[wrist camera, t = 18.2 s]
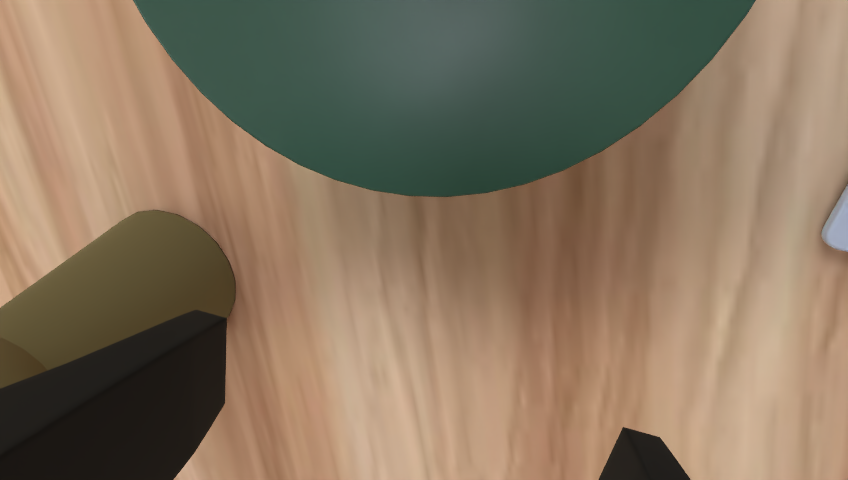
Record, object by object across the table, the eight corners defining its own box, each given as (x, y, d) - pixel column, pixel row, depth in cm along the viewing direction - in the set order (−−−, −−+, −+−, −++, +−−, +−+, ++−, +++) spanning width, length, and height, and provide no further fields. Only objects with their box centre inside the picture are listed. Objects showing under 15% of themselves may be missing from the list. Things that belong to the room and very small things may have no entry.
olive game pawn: (93, 205, 22) (-283, 363, 12) (223, 214, 20) (-66, 394, 11) (126, 327, 24) (-161, 545, 14) (245, 340, 23) (26, 585, 13)
